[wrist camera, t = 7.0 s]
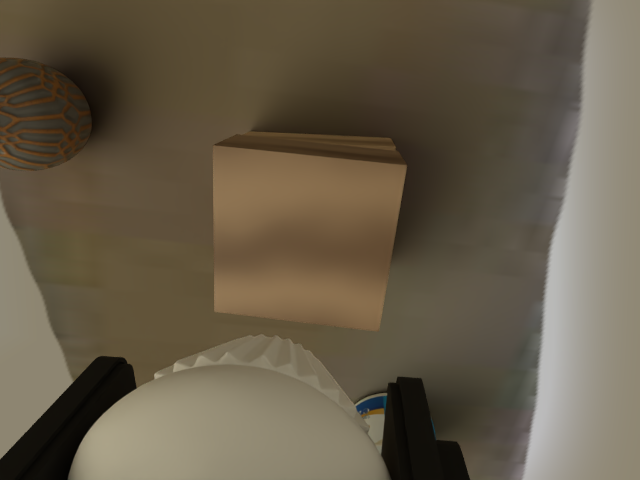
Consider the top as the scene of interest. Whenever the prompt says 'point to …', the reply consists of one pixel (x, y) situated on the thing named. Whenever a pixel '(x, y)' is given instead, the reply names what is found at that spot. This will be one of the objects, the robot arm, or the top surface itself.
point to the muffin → (233, 422)
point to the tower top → (304, 229)
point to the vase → (39, 116)
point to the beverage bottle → (375, 416)
